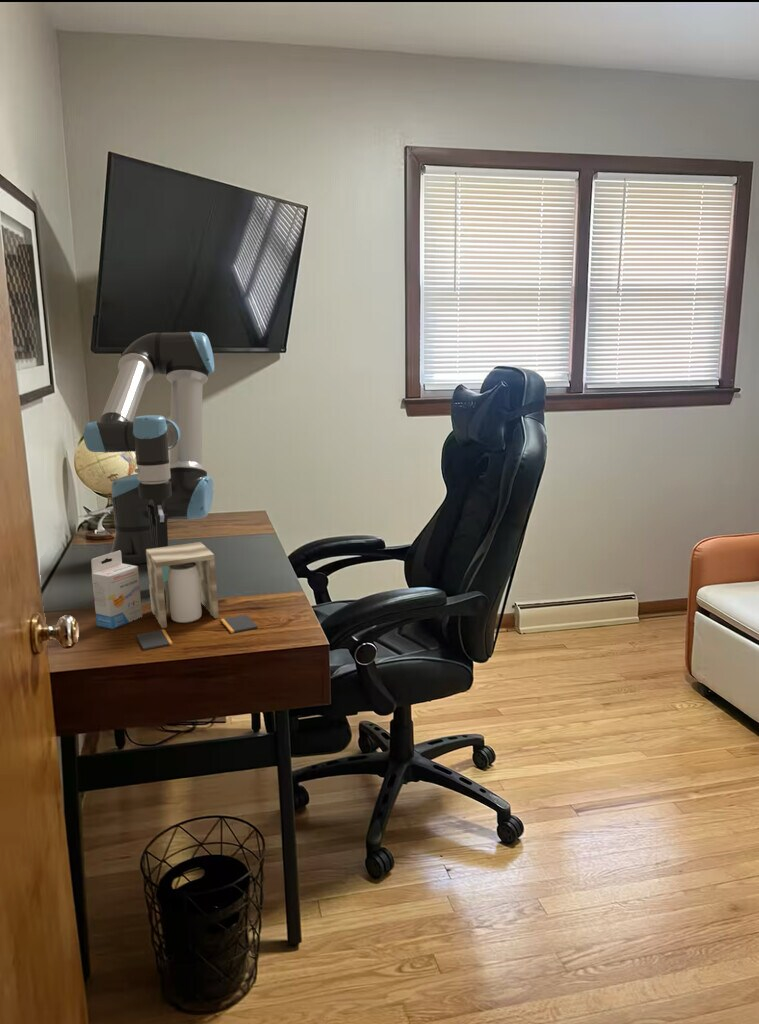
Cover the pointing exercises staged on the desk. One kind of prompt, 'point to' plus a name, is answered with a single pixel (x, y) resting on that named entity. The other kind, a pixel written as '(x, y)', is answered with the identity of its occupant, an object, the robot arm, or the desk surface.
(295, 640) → the desk surface
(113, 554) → the ink box
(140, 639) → the mats
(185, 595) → the can
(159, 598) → the tunnel
